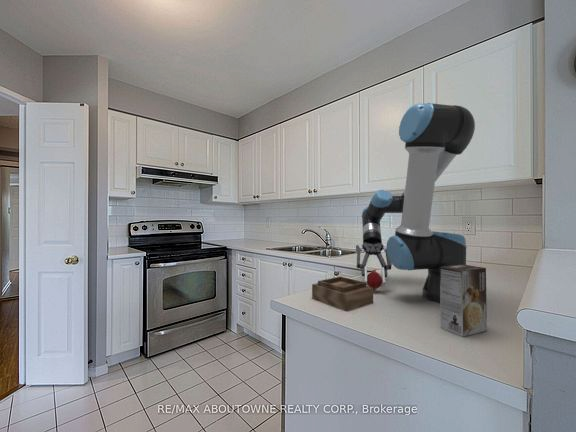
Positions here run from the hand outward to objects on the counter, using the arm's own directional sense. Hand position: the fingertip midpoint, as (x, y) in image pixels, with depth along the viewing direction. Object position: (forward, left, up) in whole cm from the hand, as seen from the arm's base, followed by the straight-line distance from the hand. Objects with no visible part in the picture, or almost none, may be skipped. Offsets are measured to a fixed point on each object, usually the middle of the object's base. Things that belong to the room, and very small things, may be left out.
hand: (374, 283), depth 102 cm
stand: (+2, +15, -4) cm, 16 cm away
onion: (+2, -3, -4) cm, 5 cm away
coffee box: (-33, +8, -4) cm, 34 cm away
